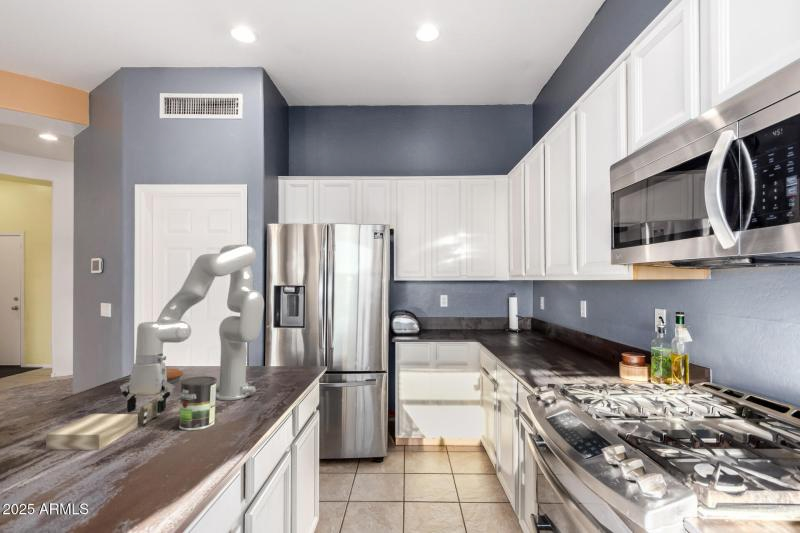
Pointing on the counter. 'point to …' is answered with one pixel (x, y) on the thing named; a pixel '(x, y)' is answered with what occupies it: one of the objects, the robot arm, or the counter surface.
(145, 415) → the stone tablet
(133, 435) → the counter surface
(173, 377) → the pie
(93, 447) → the birch block
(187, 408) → the coffee can
